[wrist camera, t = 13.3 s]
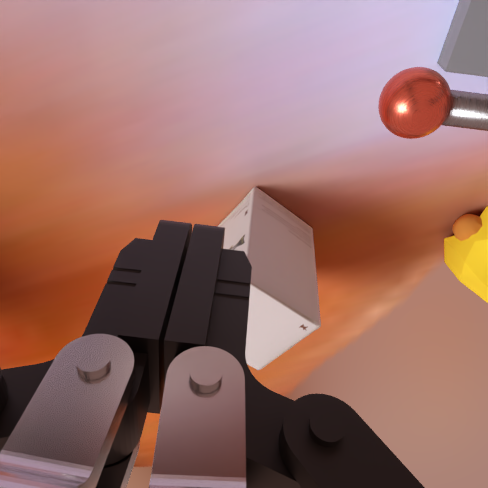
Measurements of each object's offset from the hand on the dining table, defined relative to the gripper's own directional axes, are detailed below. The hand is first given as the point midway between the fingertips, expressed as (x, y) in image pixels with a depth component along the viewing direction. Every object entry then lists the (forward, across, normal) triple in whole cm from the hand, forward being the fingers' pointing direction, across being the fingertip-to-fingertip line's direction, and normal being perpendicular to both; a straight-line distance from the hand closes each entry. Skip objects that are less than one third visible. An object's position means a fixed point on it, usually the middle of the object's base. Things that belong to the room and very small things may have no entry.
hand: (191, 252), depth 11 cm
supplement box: (+27, -3, +18) cm, 33 cm away
